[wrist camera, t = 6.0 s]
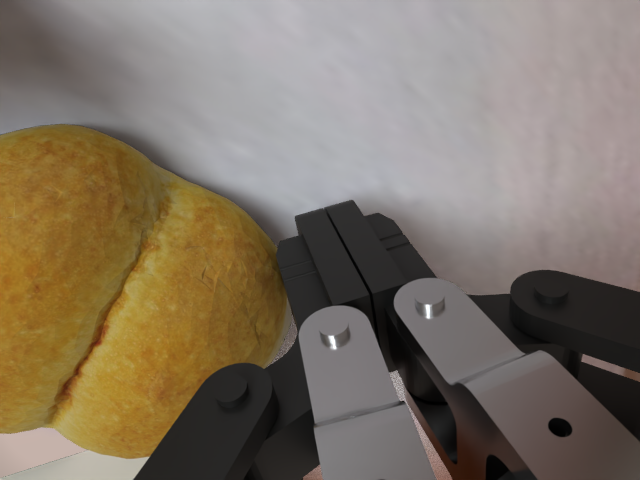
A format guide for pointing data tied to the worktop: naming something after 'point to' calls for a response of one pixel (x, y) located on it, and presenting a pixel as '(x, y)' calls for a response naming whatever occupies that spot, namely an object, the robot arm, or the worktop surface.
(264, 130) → the worktop surface
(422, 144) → the worktop surface
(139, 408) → the bread roll
